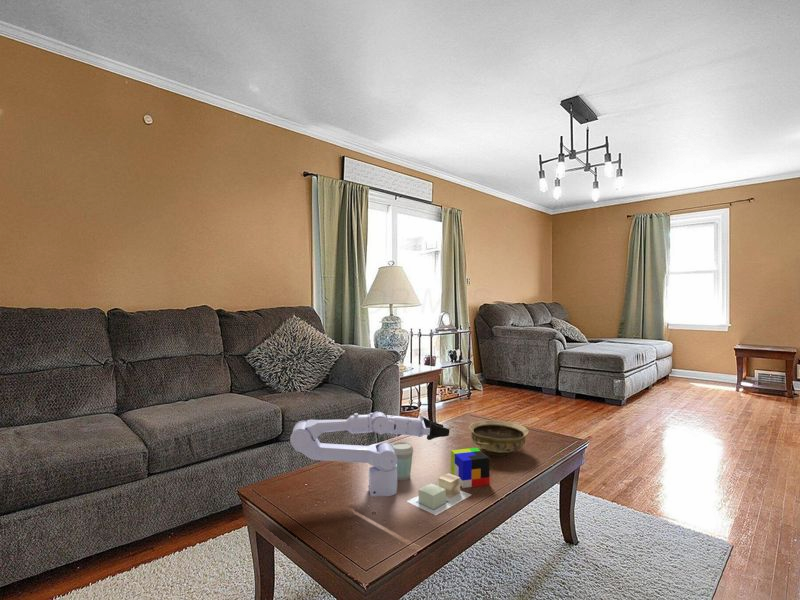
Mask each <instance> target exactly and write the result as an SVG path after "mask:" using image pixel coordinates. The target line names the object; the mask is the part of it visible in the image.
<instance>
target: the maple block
mask: <svg viewBox="0 0 800 600" xmlns="http://www.w3.org/2000/svg"><path fill="white" fill-rule="evenodd" d="M438 485H439V487H441V488H444V489H446V496H447V497H450V498H452V497H453V496H455V495H457V494H459V493H460V490H461V486H460V477H457V476H455V475H452V474H451V473H449V472H448V473H445V474H443V475H441V476H439V477H438Z"/></svg>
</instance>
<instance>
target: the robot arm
mask: <svg viewBox="0 0 800 600" xmlns="http://www.w3.org/2000/svg"><path fill="white" fill-rule="evenodd" d="M340 431H347V432H349V433H350V434H352V435H354V434H367V433H376V434H378V435H384V434H386V433H388V434H396V435H403V436H413V437H419V438H421V437H423V436H425V435H426V440H427V441H432V440H433V439H436V438H442V437H448V436H450V429H449V428H447V427H444V425H443V424H441V423H438V422H435V421H431V420H429V419H428V418H426V417H424V415H423V414H420V415H419V418H418V417H412V416H411V417H409V416H402V415H392V414H385V413H384V412H382V411H375V412H370V413H368V414H359V413H358V412H357V413H356V412H355V413H353V415H350V416H349V417H348V418H347V419H307V420H300V421H297V422H296V423H295V424H294V425H293V428H292V432H291V435H290V437H289V441H290V444H291V446H292V447H293V449H294V451H295V452H299V453H301V454H303V455H304V456H306V457H307V458H309V459H310V460H312V461H324V462H325V461H327V462H341V463H342V462H343V463H344V462H345V463H346V462H347V463H363V464H364V463H365V464H368V465H370V466H371V467H368V487H367V490H368V491H369V495H370V497H391V496H394V495H395V494H397V492H398V480H397V456H396V454H395V452H394V447H393V446H392V444H393V443H391V442H389V441H382V442H379V443H373V444H370V445H361V444H360V445H357V444H344V443H343V444H342V443H341V444H340V443H339V444H338V443H323V442H320V440H319V438H318V437H320V436H321V435H322V434H324V433H332V432H333V433H334V432H340Z"/></svg>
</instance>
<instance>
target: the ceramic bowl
mask: <svg viewBox="0 0 800 600" xmlns="http://www.w3.org/2000/svg"><path fill="white" fill-rule="evenodd" d="M468 428H469V430H470V432H471V440H472V441H473V443H474V444H475V445H476V446H478V447H480V448H481V449H483V450H486V451H487V453H488V454H490V455H493V456H506V455H508V453H511V452H516V451H517V450H520V449H521V448H523V446H525V444H526V436H527V435H529V429H528V428H527V427H525V426H524V425H522V424H519V423H514V422H510V421H503V420H492V419H491V420H490V419H489V420H487V419H486V420H479V421H475V422H472V423H470V425H468Z"/></svg>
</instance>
